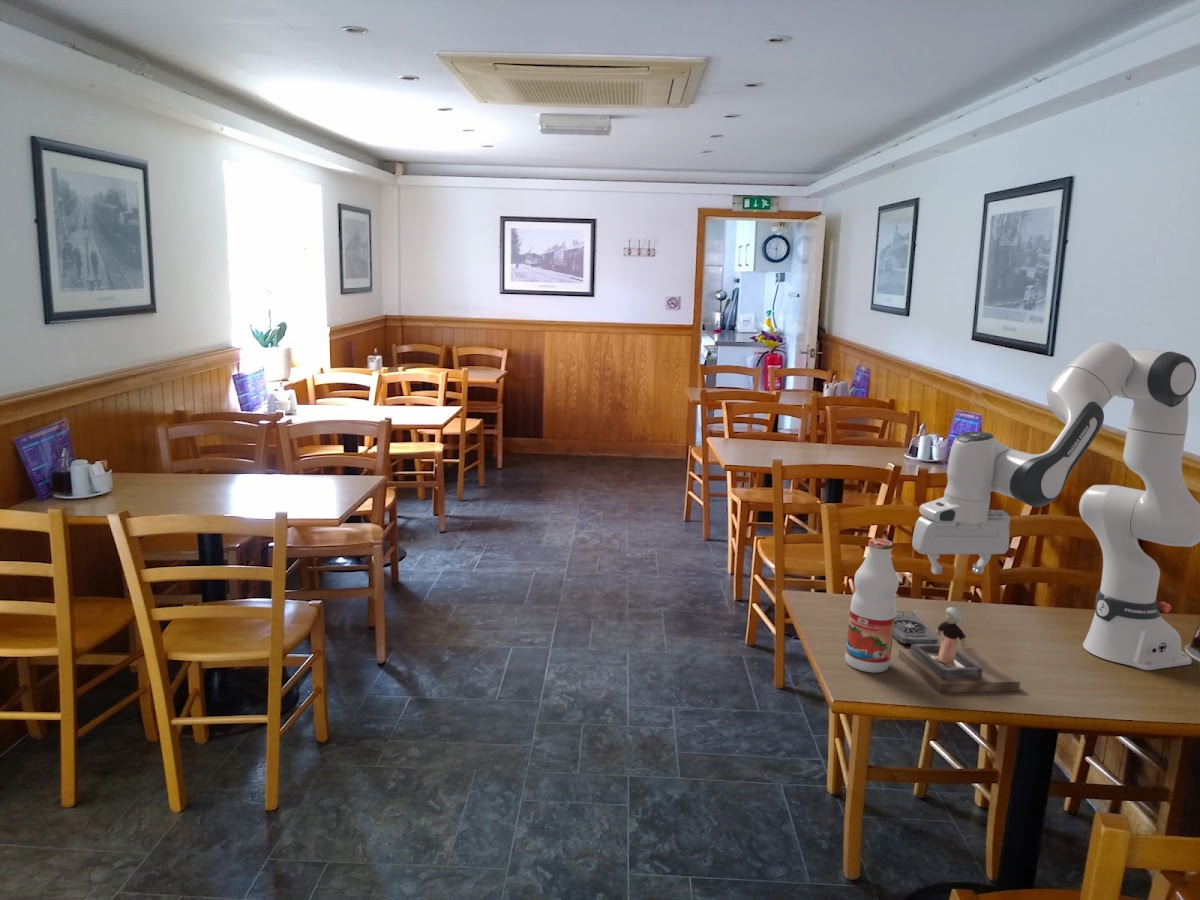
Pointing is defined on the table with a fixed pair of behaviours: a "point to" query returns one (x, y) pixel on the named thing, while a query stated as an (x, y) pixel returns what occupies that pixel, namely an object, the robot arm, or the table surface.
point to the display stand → (958, 670)
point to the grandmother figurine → (950, 637)
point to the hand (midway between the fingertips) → (956, 573)
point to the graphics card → (912, 630)
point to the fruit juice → (873, 610)
